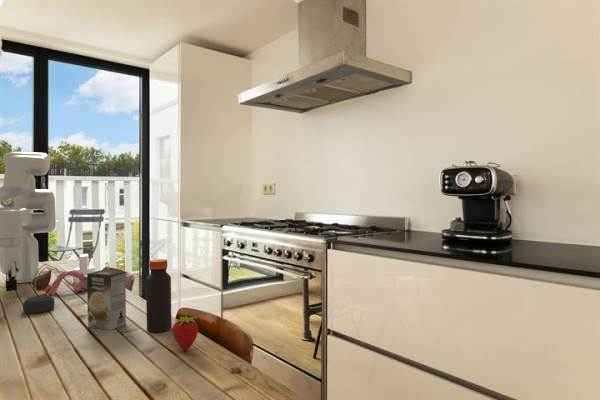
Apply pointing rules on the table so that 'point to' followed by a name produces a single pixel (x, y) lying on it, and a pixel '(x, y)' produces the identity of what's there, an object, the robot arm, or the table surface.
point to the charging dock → (83, 282)
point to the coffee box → (106, 299)
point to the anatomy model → (44, 279)
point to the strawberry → (185, 332)
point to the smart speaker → (38, 305)
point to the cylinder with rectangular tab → (83, 266)
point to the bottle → (158, 297)
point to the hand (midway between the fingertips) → (11, 290)
